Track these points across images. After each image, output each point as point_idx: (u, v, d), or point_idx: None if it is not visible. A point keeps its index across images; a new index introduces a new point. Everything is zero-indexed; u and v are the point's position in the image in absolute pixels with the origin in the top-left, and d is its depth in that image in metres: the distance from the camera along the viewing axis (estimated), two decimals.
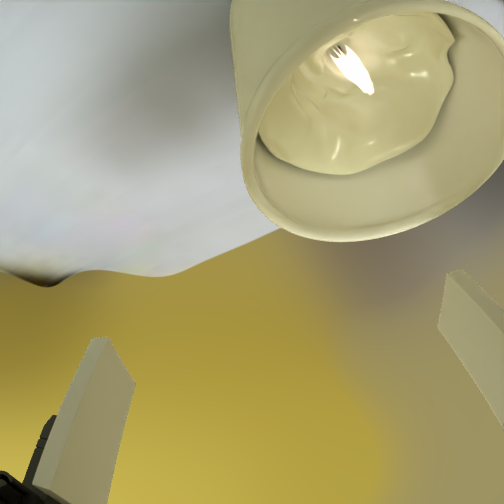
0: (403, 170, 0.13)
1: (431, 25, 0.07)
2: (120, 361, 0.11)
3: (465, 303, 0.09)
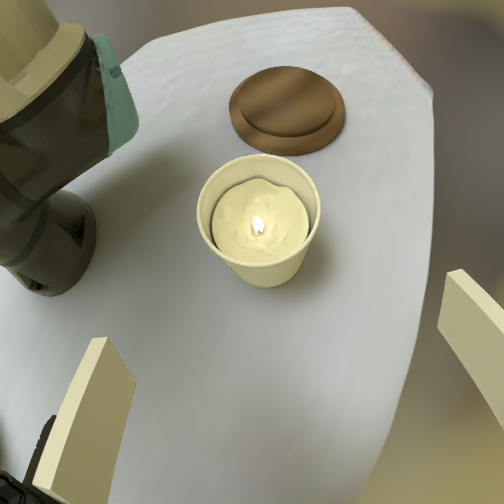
0: None
1: (256, 186, 0.29)
2: (120, 361, 0.11)
3: (465, 303, 0.09)
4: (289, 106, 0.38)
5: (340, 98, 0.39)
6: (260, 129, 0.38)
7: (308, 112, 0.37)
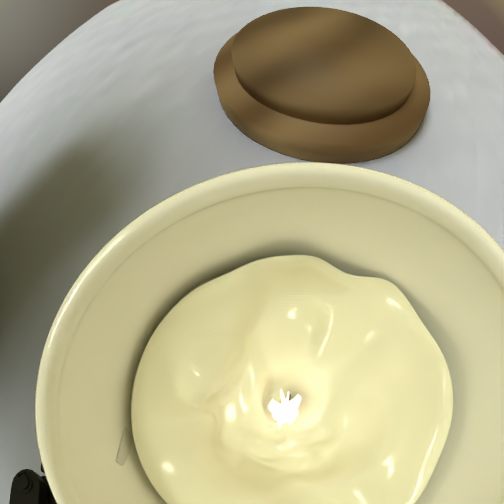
0: (470, 436, 0.05)
1: (283, 276, 0.08)
2: None
3: None
4: (334, 64, 0.17)
5: (416, 63, 0.19)
6: (276, 107, 0.17)
7: (373, 77, 0.16)
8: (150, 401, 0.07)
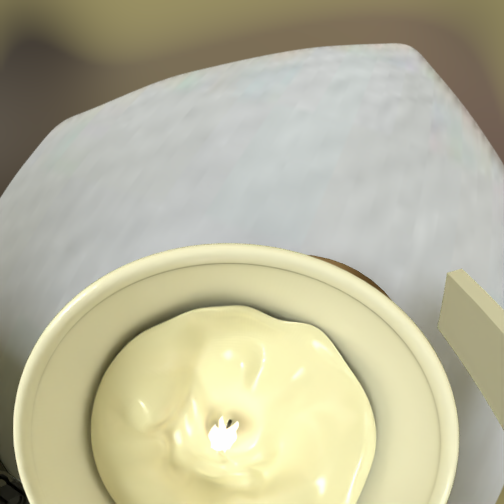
0: (393, 464, 0.07)
1: (217, 322, 0.09)
2: None
3: (466, 303, 0.09)
4: None
5: None
6: None
7: None
8: (106, 429, 0.07)
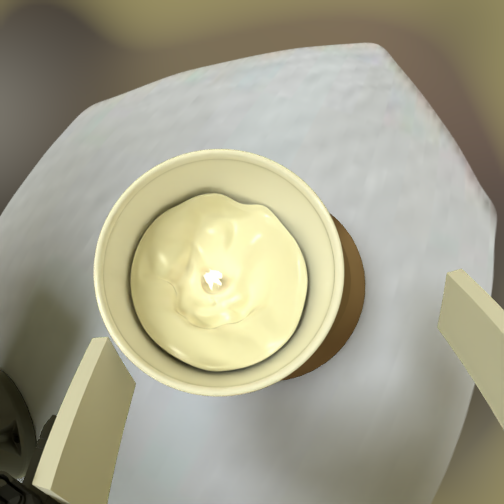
0: (318, 285, 0.14)
1: (206, 206, 0.16)
2: (120, 361, 0.11)
3: (466, 303, 0.09)
4: None
5: (360, 269, 0.25)
6: None
7: None
8: (141, 275, 0.15)
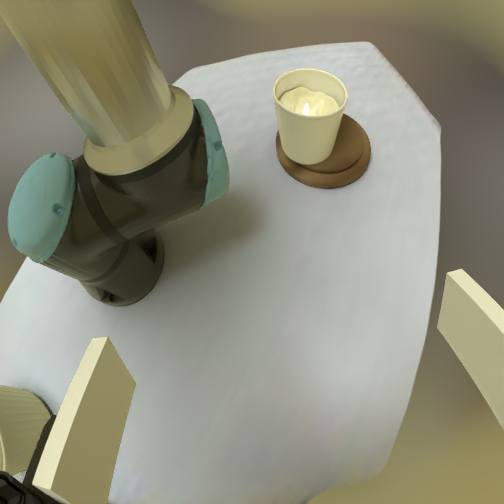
0: None
1: (300, 92, 0.41)
2: (120, 361, 0.11)
3: (465, 303, 0.09)
4: None
5: (366, 138, 0.49)
6: (304, 166, 0.48)
7: (343, 153, 0.47)
8: None
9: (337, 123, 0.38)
